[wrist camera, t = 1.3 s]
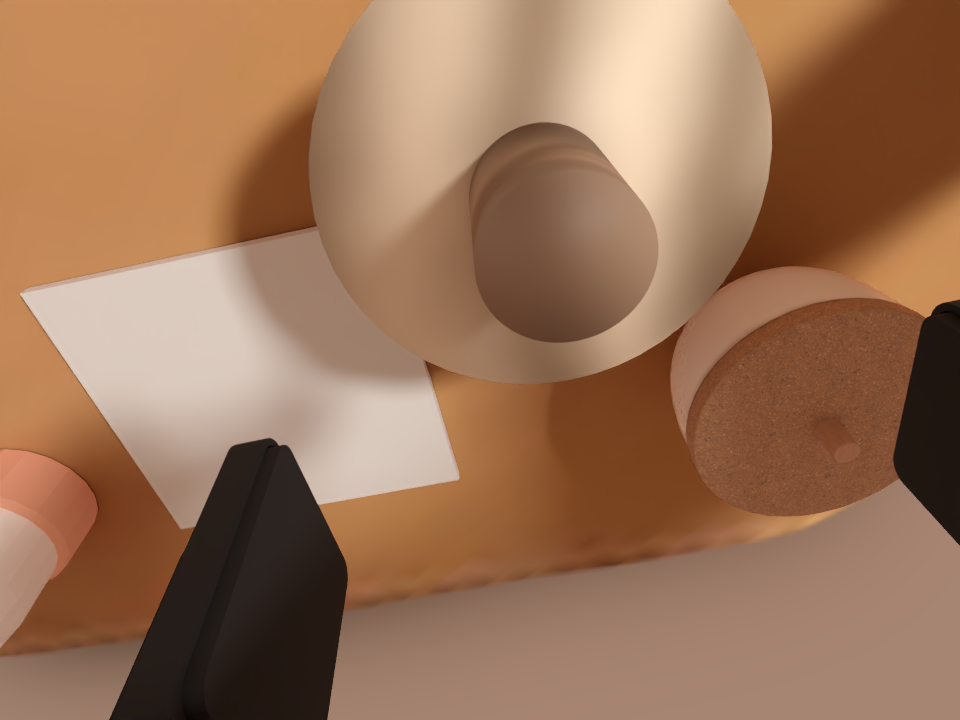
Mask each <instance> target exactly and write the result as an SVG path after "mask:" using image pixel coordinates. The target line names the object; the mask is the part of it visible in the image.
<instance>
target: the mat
mask: <svg viewBox="0 0 960 720" xmlns="http://www.w3.org/2000/svg"><path fill="white" fill-rule="evenodd" d="M20 295H21V296H22V298H23V299H24V301H25V302H26V304H27V305H28V307H29V308H30V310H31V311H32V312H33V314H34V315H35V317H36V318H37V320H38V321H39V323H40V324H41V326H42V327H43V329H44V330H45V331H46V333H47V334H48V336H49V337H50V339H51V340H52V342H53V343H54V345H55V346H56V348H57V349H58V350H59V352H60V353H61V355H62V356H63V358H64V359H65V361H66V362H67V364H68V365H69V367H70V368H71V369H72V371H73V372H74V374H75V375H76V377H77V378H78V380H79V381H80V383H81V384H82V386H83V387H84V388H85V390H86V391H87V393H88V394H89V396H90V397H91V399H92V400H93V402H94V403H95V405H96V406H97V407H98V409H99V410H100V412H101V413H102V415H103V416H104V418H105V419H106V421H107V422H108V423H109V425H110V426H111V428H112V429H113V431H114V432H115V434H116V435H117V437H118V438H119V440H120V441H121V442H122V444H123V445H124V447H125V448H126V450H127V451H128V453H129V454H130V456H131V457H132V459H133V460H134V461H135V463H136V464H137V466H138V467H139V469H140V470H141V472H142V473H143V475H144V476H145V478H146V479H147V480H148V482H149V483H150V485H151V486H152V488H153V489H154V491H155V492H156V494H157V495H158V497H159V498H160V499H161V501H162V502H163V504H164V505H165V507H166V508H167V510H168V511H169V513H170V514H171V516H172V517H173V518H174V520H175V521H176V523H177V524H178V526H179V527H180V529H185V528H191V527H195V526H196V524H197V521H198V519H199V517H200V514H201V512H202V510H203V508H204V505H205V503H206V501H207V498H208V496H209V494H210V492H211V489H212V487H213V485H214V482H215V480H216V478H217V476H218V473H219V471H220V469H221V466H222V464H223V462H224V460H225V457H226V455H227V453H228V451H229V449H230V448H231V447H232V446H234V445H236V444H241V443H246V442H251V441H256V440H261V439H266V438H272V439H274V440H275V441H276V442H277V444H278V445H279V446H280V445H287V446H288V447H289V448H290V449H291V451H292V453H293V455H294V457H295V459H296V461H297V463H298V465H299V467H300V469H301V471H302V473H303V475H304V477H305V479H306V481H307V483H308V485H309V488H310V490H311V492H312V494H313V496H314V498H315V500H316V502H317V504H318V505H320V504H326V503H331V502H337V501H342V500H348V499H354V498H359V497H365V496H370V495H376V494H382V493H387V492H393V491H398V490H404V489H410V488H415V487H421V486H427V485H432V484H438V483H443V482H449V481H455V480H459V471H458V468H457V464H456V461H455V458H454V454H453V451H452V448H451V444H450V441H449V438H448V434H447V431H446V428H445V425H444V421H443V418H442V415H441V411H440V408H439V405H438V401H437V398H436V395H435V391H434V388H433V385H432V381H431V378H430V375H429V371H428V368H427V365H426V362H425V360H423V359H422V358H420V357H418V356H416V355H415V354H413V353H411V352H410V351H408V350H406V349H405V348H403V347H402V346H400V345H399V344H398V343H396V342H395V341H394V340H392V339H391V338H390V337H389V336H387V335H386V334H385V333H383V332H382V331H381V330H380V329H379V328H378V327H377V326H376V325H375V324H374V323H373V322H372V321H371V320H370V319H369V318H368V317H367V316H366V315H365V314H364V313H363V312H362V311H361V309H360V308H359V307H358V305H357V304H356V303H355V302H354V300H353V299H352V298H351V297H350V295H349V294H348V293H347V291H346V290H345V288H344V286H343V285H342V283H341V281H340V280H339V278H338V276H337V275H336V273H335V271H334V270H333V268H332V265H331V263H330V261H329V258H328V256H327V254H326V252H325V249H324V247H323V245H322V242H321V239H320V235H319V232H318V228H317V226H316V227H311V228H306V229H302V230H297V231H292V232H288V233H283V234H278V235H274V236H269V237H264V238H260V239H255V240H250V241H246V242H241V243H236V244H231V245H227V246H222V247H217V248H213V249H208V250H203V251H199V252H194V253H189V254H185V255H180V256H175V257H171V258H166V259H161V260H157V261H152V262H147V263H143V264H138V265H133V266H129V267H124V268H119V269H115V270H110V271H105V272H101V273H96V274H91V275H87V276H82V277H77V278H73V279H68V280H63V281H59V282H54V283H49V284H45V285H40V286H35V287H31V288H27V289H26V290H24V291H23V292H22V293H20Z"/></svg>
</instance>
